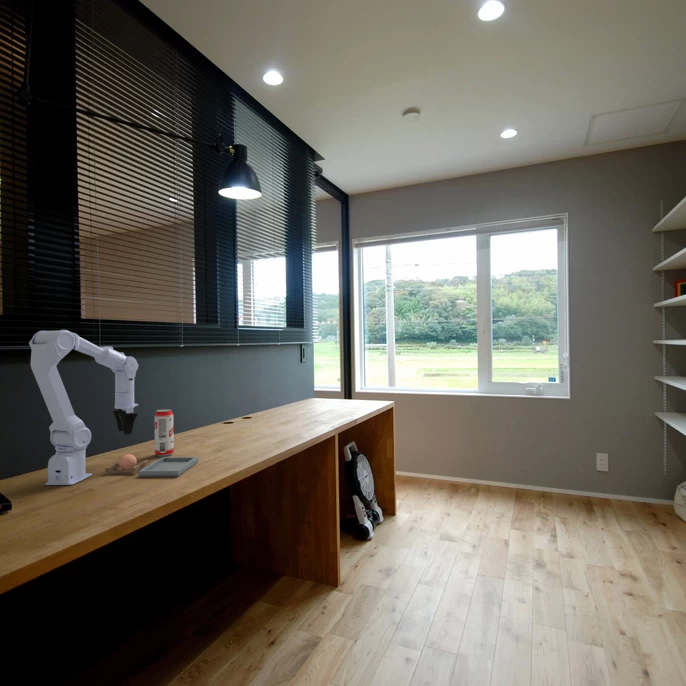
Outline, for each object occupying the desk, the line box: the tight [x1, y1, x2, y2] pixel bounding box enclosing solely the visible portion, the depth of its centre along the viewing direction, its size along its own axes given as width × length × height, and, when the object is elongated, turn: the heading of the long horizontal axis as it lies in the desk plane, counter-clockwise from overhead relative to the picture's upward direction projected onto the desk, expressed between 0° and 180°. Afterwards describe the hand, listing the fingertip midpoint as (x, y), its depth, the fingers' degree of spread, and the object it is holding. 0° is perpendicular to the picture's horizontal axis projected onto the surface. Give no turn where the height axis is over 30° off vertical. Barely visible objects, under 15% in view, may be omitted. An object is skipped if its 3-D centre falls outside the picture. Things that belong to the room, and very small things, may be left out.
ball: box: [118, 453, 138, 470], centre depth 133 cm, size 5×5×5 cm
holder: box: [104, 459, 150, 476], centre depth 133 cm, size 9×9×2 cm
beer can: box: [154, 408, 175, 458], centre depth 152 cm, size 6×6×16 cm
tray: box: [138, 456, 199, 478], centre depth 134 cm, size 16×12×2 cm
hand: (124, 432), depth 142 cm, fingers open, 7 cm apart
